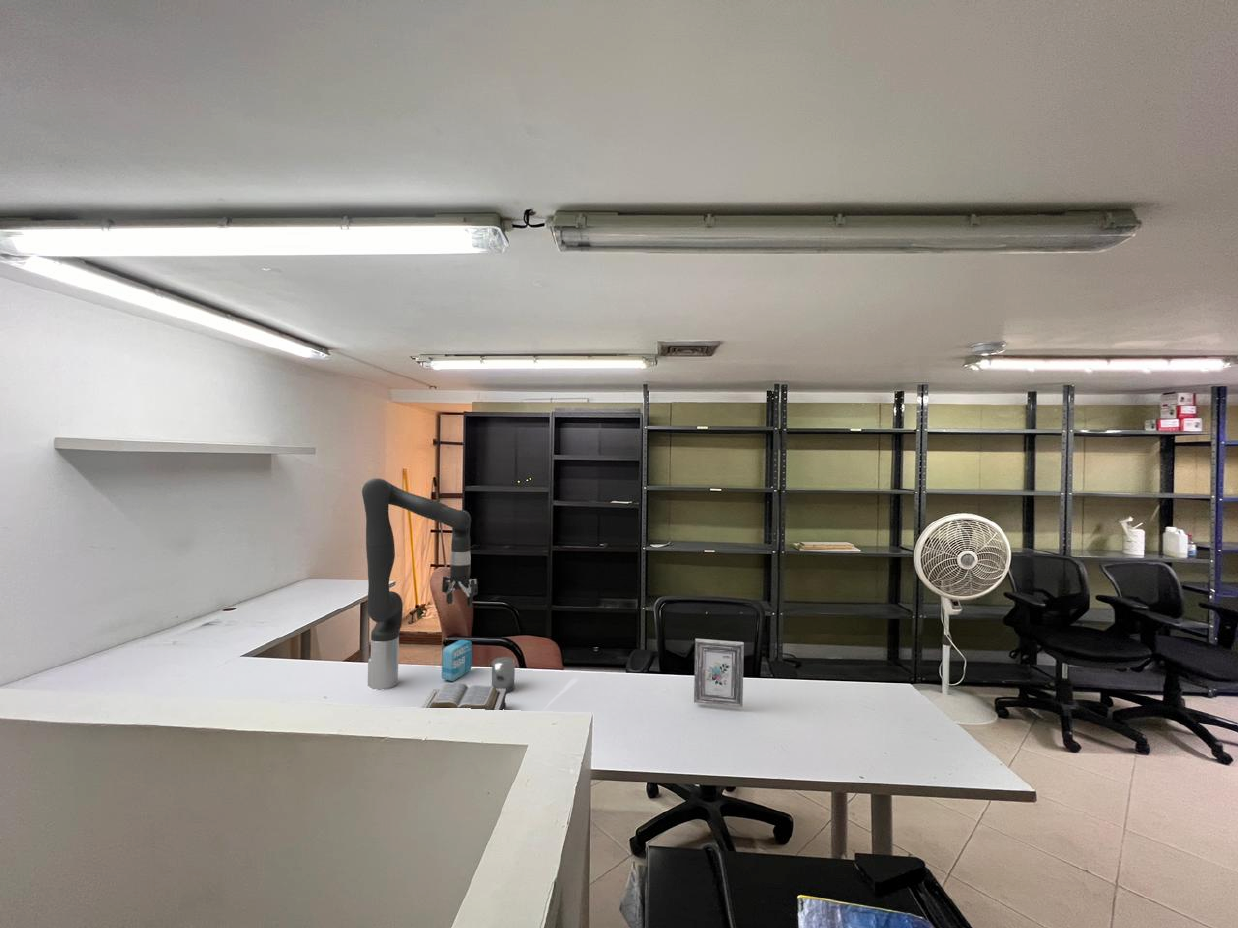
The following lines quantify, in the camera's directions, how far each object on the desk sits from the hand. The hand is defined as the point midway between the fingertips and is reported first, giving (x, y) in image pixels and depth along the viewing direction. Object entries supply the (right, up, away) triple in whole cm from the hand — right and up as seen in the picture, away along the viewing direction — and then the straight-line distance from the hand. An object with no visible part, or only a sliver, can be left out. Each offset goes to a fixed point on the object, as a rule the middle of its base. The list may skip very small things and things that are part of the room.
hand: (459, 604), depth 187 cm
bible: (+12, -28, -33) cm, 45 cm away
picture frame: (+96, -29, -18) cm, 102 cm away
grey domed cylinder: (+19, -27, -10) cm, 35 cm away
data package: (-1, -27, 0) cm, 27 cm away
